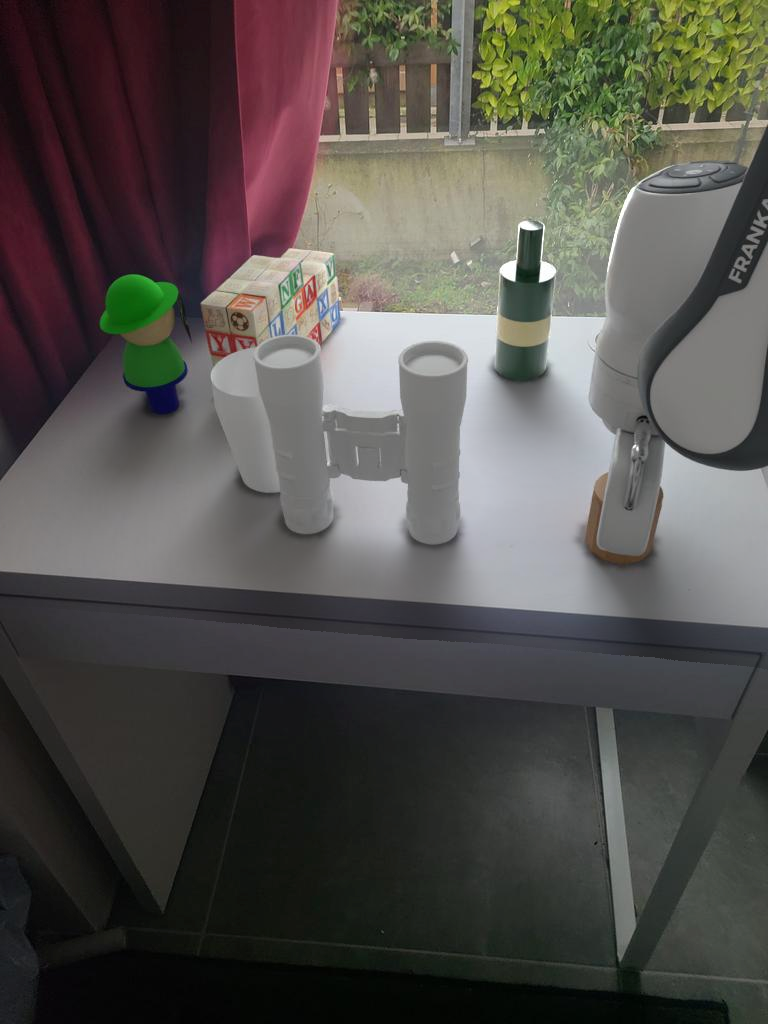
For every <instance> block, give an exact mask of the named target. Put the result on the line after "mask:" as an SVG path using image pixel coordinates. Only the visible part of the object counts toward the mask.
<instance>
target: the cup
mask: <svg viewBox="0 0 768 1024" xmlns="http://www.w3.org/2000/svg"><path fill="white" fill-rule="evenodd" d="M255 348H256V347H254V348H248V349H244V350H240V351H237V352H235V353H232V354H230V355H228V356H226V357H224V358H223V359H221V360H220V361H219V362H218V363H217V364H216V365H215V366H214V367H213V368H212V370H211V372H210V379H211V380H210V381H211V389H212V396H213V406H214V409H215V412H216V415H217V417H218V421H219V423H220V425H221V428H222V430H223V433H224V436H225V439H226V441H227V444H228V446H229V448H230V451H231V454H232V456H233V458H234V462H235V464H236V466H237V469H238V471H239V474H240V477H241V479H242V482H243V484H245V486H246V487H248V488H249V489H251V490H253V491H255V492H259V493H266V494H275V493H280V487H279V477H278V472H277V470H276V458H275V452H274V449H273V445H272V443H273V440H272V434H271V427H270V422H269V419H268V416H267V413H266V410H265V407H264V404H263V401H262V398H261V395H260V392H259V386H258V380H257V374H256V368H255V362H254V359H253V352H254V350H255Z"/></svg>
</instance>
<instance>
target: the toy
mask: <svg viewBox="0 0 768 1024" xmlns="http://www.w3.org/2000/svg"><path fill="white" fill-rule="evenodd" d="M176 301H177V306H178V311H179V316H180V320H181V322H182V324H183V326H184V329H185V331H186V333H187V335H188V337H189V340H190V343H193V341H192V336H191V332H190V326H189V323H188V318H187V313H186V309H185V304H184V302H183V301H182V298H181V296H180V293H179V289H178V288H177V286H176V285H175V283H174V282H173V283H170V282H166V281H158V282H154V280H152V279H150V278H148V277H146V276H144V275H140V274H126V275H123V276H121V277H118V278H117V279H116V280H114V281H113V283H111V285H110V286H109V288H108V290H107V292H106V296H105V310H104V311H103V313H102V315H101V316H100V320H99V327H100V329H101V331H103V332H104V333H106V334H110V335H120V336H121V337H122V338H123V339H124V340H126V341H127V342H126V345H125V347H124V350H123V356H122V368H123V373H122V380H123V382H124V384H125V385H126V387H128V388H129V389H130V390H132V391H137V392H143V393H145V394H146V399H147V402H148V406H149V410H150V412H151V413H153V414H155V415H161V416H163V415H168V414H171V413H174V412H175V411H176V410H178V409H179V407H180V401H179V395H178V391H177V385H178V384H179V383H181V382H182V381H184V379H186V377H187V375H188V373H189V372H188V371H189V369H188V365H187V363H186V361H185V360H184V359H183V356H182V354H181V352H180V350H179V349H178V347H177V346H176V344H175V343H174V341H173V340H172V339H171V338H170V337H169V336H170V334H172V332H173V330H174V327H175V323H176V312H175V309H174V305H175V303H176Z"/></svg>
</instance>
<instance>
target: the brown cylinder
mask: <svg viewBox="0 0 768 1024" xmlns="http://www.w3.org/2000/svg"><path fill="white" fill-rule="evenodd" d="M608 473H609V471H607V472H605V473H603V474H602V475H600V476H599V477H598V478H597V479H596V480H595V482H594V485H593V490H592V496H591V501H590V508H589V513H588V518H587V524H586V531H585V537H584V542H585V545H586V546H587V547H588V549H589V551H590V552H591V553H592V554H593V555H595V556H597V557H598V558H600V559H602V560H604V561H606V562H608V563H609V562H610V563H614V564H615V563H616V564H619V565H620V564H621V565H627V564H632V563H633V564H634V563H638V562H641V561H643V559H645V558H646V557H647V556H648V555H650V553H651V551H652V547H653V544H654V540H655V536H656V531H657V528H658V524H659V518H660V516H661V511H662V507H663V500H664V490H663V488H662V485H660V489H659V494H658V499H657V504H656V508H655V513H654V518H653V522H652V526H651V531H650V535H649V540H648V544H647V547H646V550H645V551H644V553H643V554H642V555H640V556H631V555H621V554H616V553H610V552H609V551H604V550H601V549H600V548H599V547H598V545H597V533H598V528H599V522H600V517H601V511H602V506H603V500H604V495H605V489H606V484H607V479H608Z"/></svg>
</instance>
